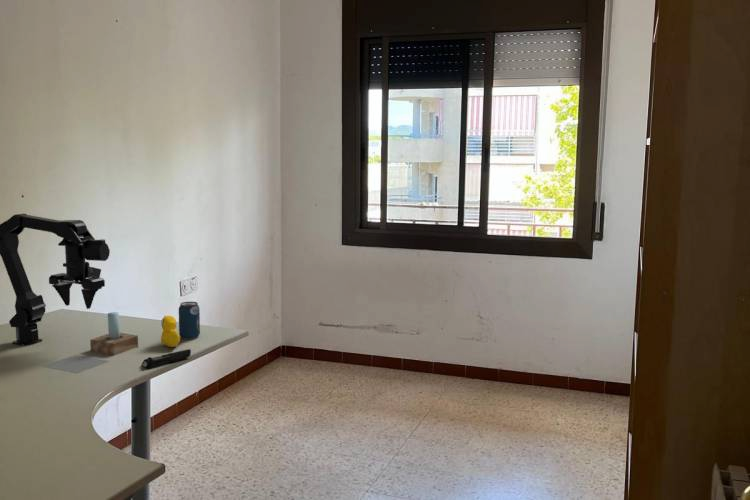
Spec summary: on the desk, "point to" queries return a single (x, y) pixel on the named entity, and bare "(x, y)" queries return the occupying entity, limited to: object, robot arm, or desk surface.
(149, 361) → the electric trimmer
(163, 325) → the duckling
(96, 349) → the hole block
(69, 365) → the mat
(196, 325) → the soda can
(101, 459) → the desk surface
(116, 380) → the desk surface
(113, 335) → the peg
